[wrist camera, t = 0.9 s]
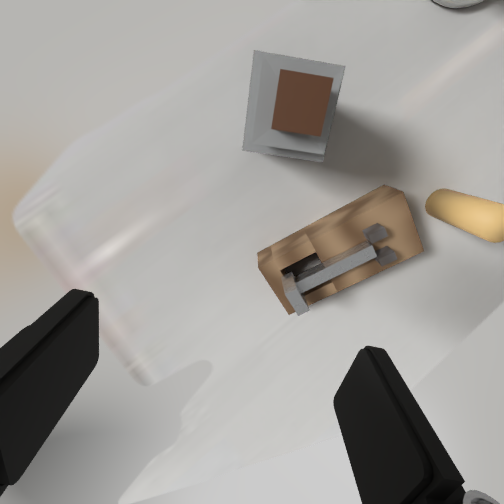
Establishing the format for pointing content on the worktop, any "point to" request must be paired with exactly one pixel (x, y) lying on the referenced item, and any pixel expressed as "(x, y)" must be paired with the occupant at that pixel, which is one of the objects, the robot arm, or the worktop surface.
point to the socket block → (347, 242)
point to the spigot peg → (468, 213)
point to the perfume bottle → (291, 106)
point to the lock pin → (323, 274)
